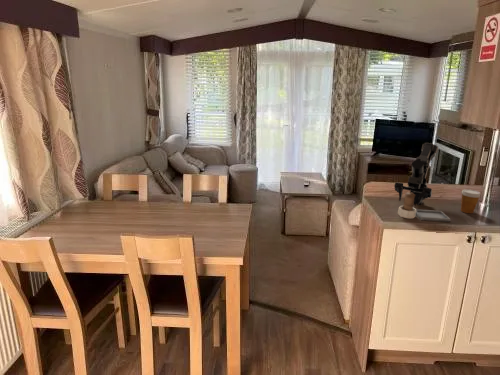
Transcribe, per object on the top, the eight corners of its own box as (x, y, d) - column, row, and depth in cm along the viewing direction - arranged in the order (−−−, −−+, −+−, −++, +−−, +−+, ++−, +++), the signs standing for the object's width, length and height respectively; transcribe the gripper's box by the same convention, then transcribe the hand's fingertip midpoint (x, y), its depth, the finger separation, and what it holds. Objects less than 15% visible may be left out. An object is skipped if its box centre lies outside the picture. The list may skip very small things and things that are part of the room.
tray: (413, 211, 209) (413, 209, 209) (440, 213, 208) (441, 210, 208) (420, 220, 198) (421, 217, 197) (450, 221, 197) (450, 219, 196)
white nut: (401, 211, 209) (402, 204, 208) (416, 215, 204) (418, 208, 203) (395, 215, 203) (397, 208, 202) (411, 219, 198) (413, 212, 197)
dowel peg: (403, 213, 207) (407, 191, 203) (412, 215, 204) (416, 193, 200) (400, 215, 203) (404, 193, 199) (409, 217, 200) (413, 195, 197)
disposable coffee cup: (471, 209, 217) (476, 189, 214) (479, 215, 208) (484, 194, 205) (454, 208, 218) (458, 188, 215) (461, 213, 209) (466, 193, 206)
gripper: (397, 167, 205) (389, 191, 200) (434, 173, 195) (427, 199, 190) (399, 178, 214) (391, 201, 208) (434, 185, 204) (427, 209, 198)
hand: (408, 202), depth 201 cm, fingers open, 9 cm apart
